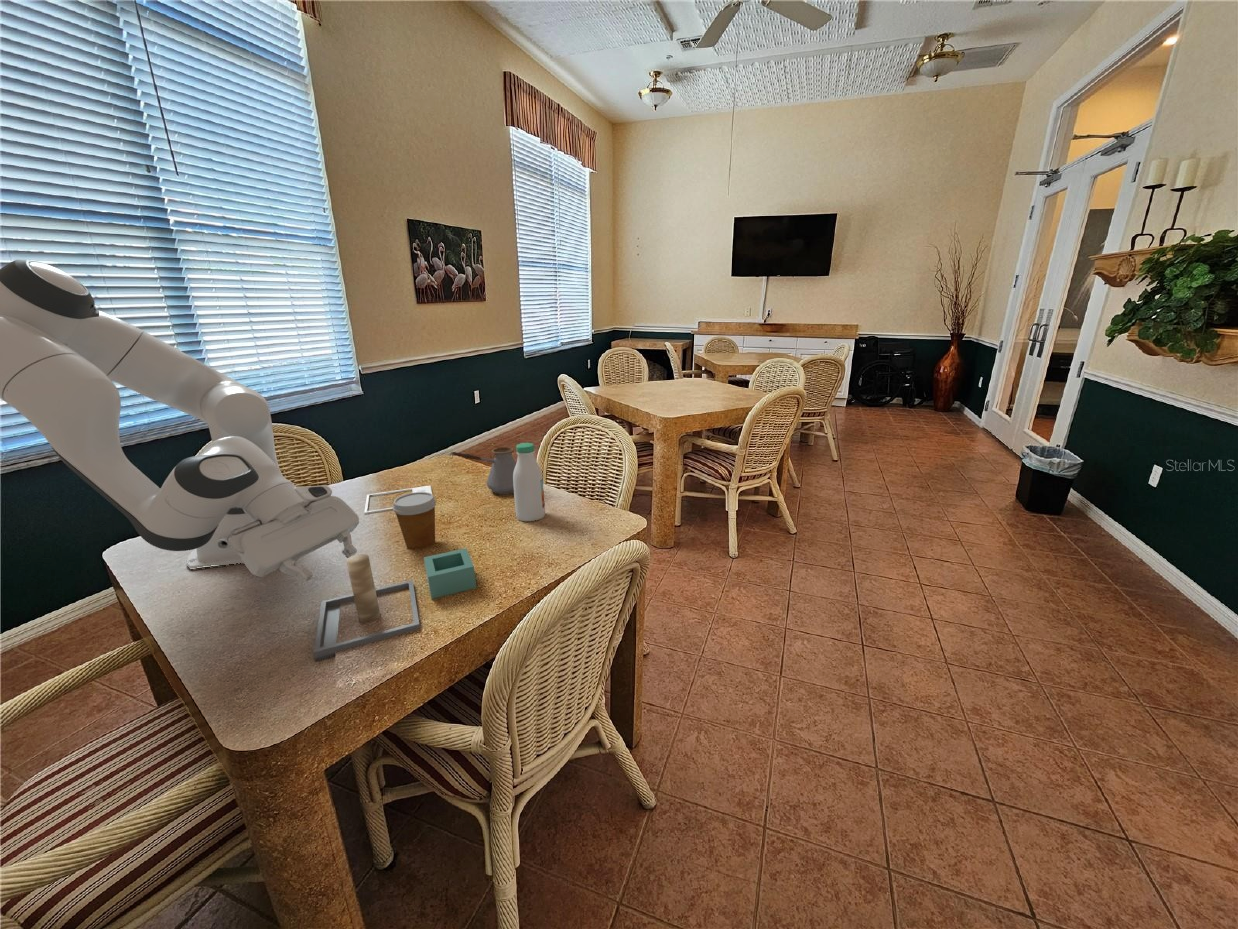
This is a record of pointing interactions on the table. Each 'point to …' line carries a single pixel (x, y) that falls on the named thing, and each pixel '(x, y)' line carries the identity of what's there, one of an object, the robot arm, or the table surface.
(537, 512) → the milk bottle
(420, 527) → the disposable coffee cup
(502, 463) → the coffee pot
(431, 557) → the ceramic holder
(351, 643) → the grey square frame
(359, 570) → the wooden dowel
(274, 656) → the table surface
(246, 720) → the table surface
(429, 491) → the photo frame
